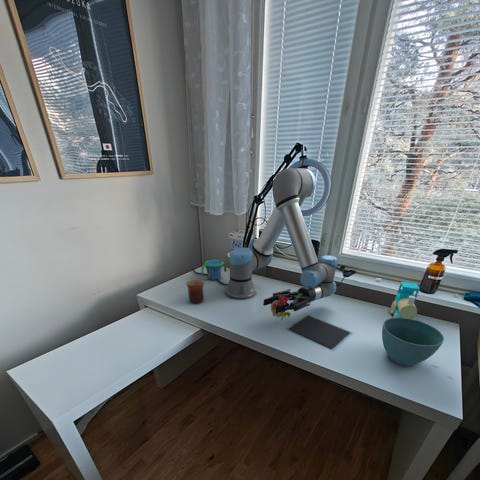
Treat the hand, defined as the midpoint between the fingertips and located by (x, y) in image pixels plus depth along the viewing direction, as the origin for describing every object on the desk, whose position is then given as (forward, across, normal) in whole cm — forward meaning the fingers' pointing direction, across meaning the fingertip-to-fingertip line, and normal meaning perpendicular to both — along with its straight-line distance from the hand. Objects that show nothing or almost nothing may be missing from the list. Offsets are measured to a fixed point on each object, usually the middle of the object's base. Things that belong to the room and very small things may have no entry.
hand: (270, 306), depth 110 cm
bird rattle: (-5, -1, -7) cm, 8 cm away
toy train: (-56, -28, -10) cm, 63 cm away
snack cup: (-8, +62, -11) cm, 63 cm away
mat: (-16, -14, -10) cm, 24 cm away
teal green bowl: (-27, -43, -10) cm, 52 cm away
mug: (+14, +41, -11) cm, 44 cm away
